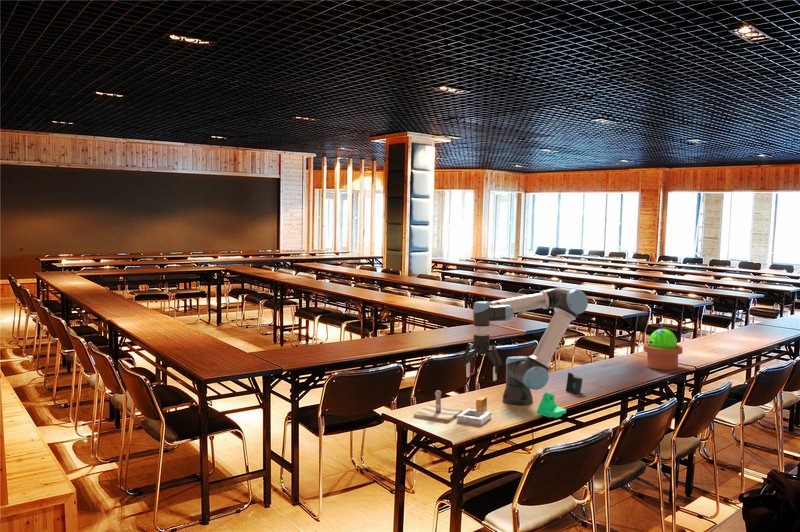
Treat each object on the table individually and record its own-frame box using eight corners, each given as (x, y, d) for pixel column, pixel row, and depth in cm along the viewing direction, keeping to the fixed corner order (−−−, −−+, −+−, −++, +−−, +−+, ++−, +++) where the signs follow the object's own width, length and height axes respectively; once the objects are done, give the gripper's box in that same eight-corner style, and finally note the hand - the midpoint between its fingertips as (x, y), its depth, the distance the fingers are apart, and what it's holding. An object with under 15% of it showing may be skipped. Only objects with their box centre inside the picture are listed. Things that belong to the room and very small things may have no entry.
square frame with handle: (481, 426, 263) (481, 408, 263) (456, 421, 269) (456, 404, 269) (495, 414, 279) (495, 398, 278) (472, 411, 285) (472, 394, 284)
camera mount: (549, 419, 271) (549, 398, 270) (537, 415, 277) (537, 394, 277) (567, 415, 278) (567, 393, 277) (554, 411, 284) (554, 390, 283)
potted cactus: (669, 362, 380) (670, 324, 378) (688, 370, 358) (689, 330, 357) (637, 363, 378) (637, 325, 377) (654, 371, 357) (654, 331, 355)
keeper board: (429, 407, 291) (429, 384, 290) (462, 413, 282) (462, 388, 281) (413, 416, 277) (413, 392, 277) (448, 422, 268) (448, 397, 268)
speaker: (566, 393, 312) (568, 374, 312) (565, 391, 318) (567, 372, 318) (581, 395, 311) (583, 376, 311) (580, 392, 317) (582, 373, 316)
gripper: (454, 333, 280) (454, 377, 282) (503, 337, 268) (503, 383, 269) (460, 331, 287) (460, 373, 288) (509, 335, 274) (509, 379, 276)
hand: (481, 378), depth 279 cm, fingers open, 13 cm apart
